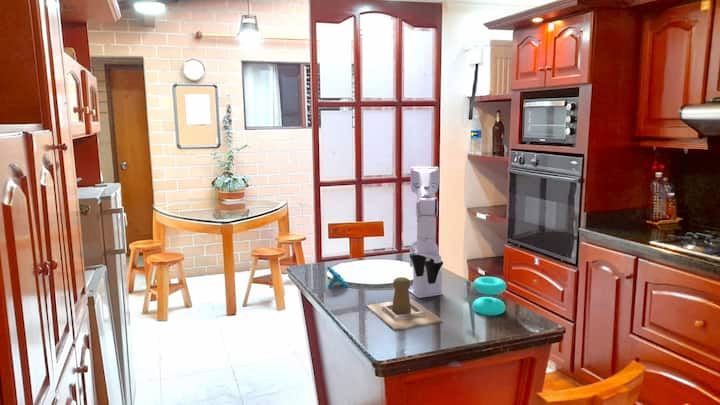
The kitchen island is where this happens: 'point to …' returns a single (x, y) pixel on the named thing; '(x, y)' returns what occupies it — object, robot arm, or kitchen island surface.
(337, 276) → the teal angled piece
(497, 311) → the donuts
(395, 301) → the cork
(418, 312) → the socket board
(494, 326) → the kitchen island surface
